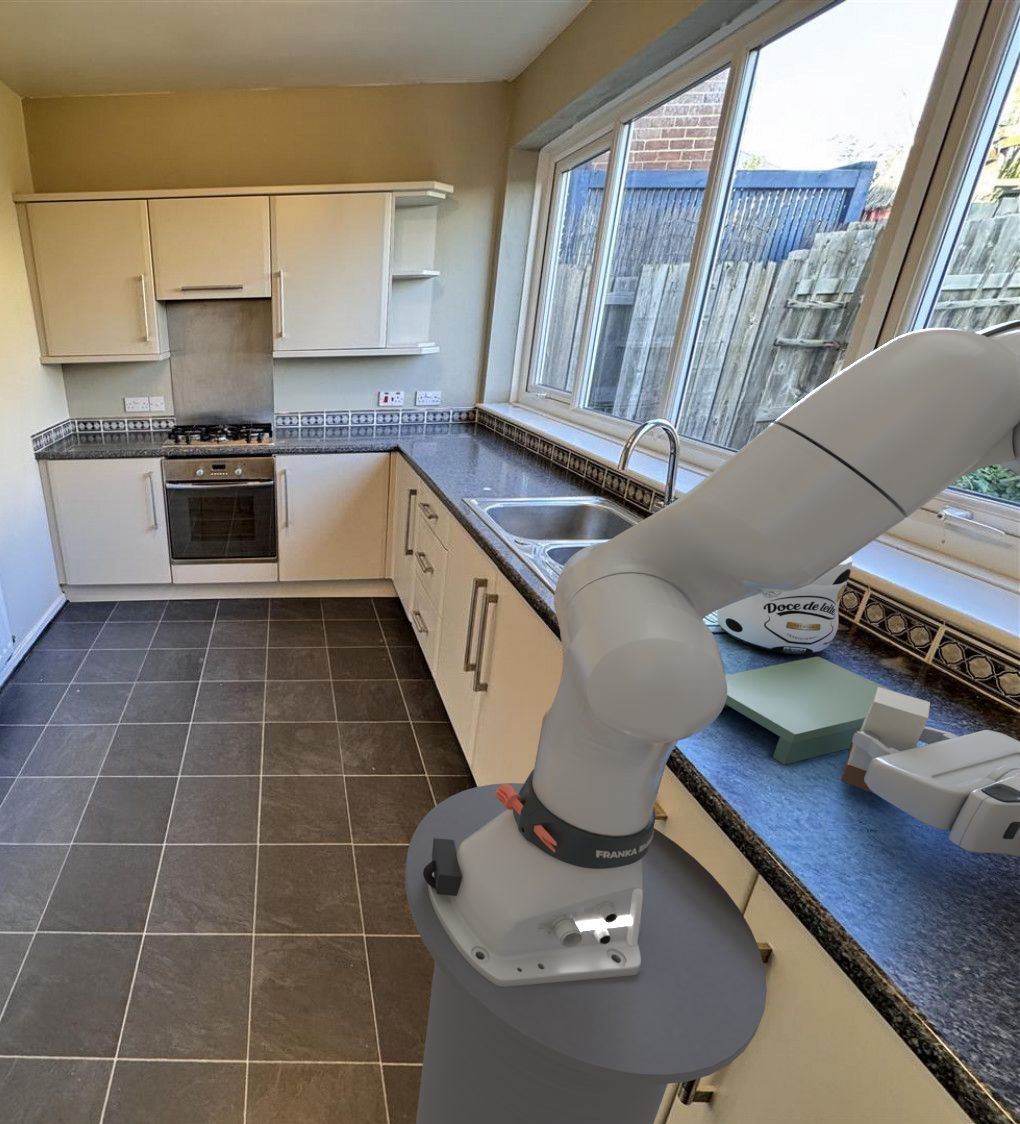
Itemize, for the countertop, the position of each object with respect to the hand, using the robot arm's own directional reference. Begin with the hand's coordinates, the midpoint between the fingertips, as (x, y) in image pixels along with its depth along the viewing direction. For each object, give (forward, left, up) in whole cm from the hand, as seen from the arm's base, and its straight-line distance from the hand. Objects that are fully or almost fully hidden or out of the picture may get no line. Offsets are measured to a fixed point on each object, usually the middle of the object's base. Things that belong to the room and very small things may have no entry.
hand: (879, 730), depth 76 cm
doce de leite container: (+28, +33, -9) cm, 44 cm away
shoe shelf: (+8, +13, -9) cm, 18 cm away
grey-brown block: (+2, 0, -7) cm, 7 cm away
